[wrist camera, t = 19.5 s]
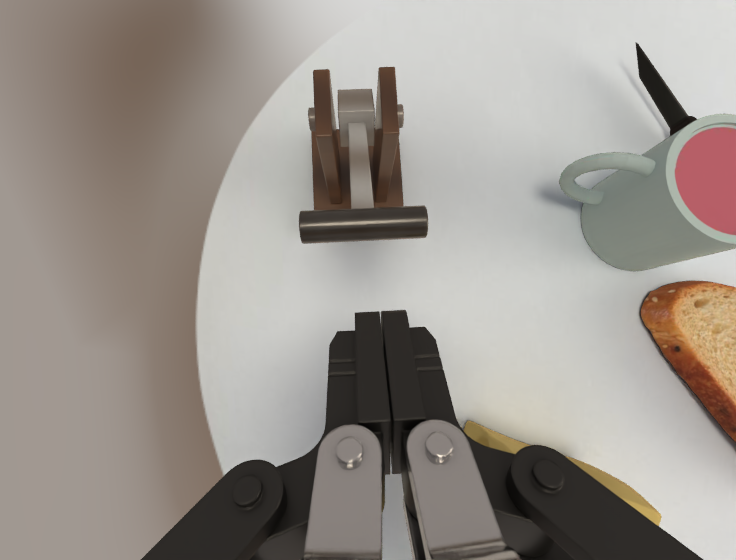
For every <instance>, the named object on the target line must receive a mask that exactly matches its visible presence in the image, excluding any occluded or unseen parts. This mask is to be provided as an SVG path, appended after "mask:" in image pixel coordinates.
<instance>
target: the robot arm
mask: <svg viewBox="0 0 736 560" xmlns="http://www.w3.org/2000/svg"><path fill="white" fill-rule="evenodd" d="M390 453H391V464H392V474H400V473H401V475H402V483H403V492H404V499H403V507H404V513H405V519H406V524H407V530H408V535H409V541H410V546H411V552H412V557H413V560H703V559H702V558H700V557H699V556H698V555H696V554H695V553H694V552H692V551H691V550H690V549H688V548H687V547H686V546H684V545H683V544H682V543H680V542H679V541H678V540H676V539H675V538H674V537H672V536H671V535H670V534H668V533H667V532H666V531H664V530H663V529H662V528H660V527H659V526H657V525H656V524H655V523H653V522H652V521H651V520H649V519H648V518H647V517H645V516H644V515H643V514H641V513H640V512H639V511H637V510H636V509H635V508H633V507H632V506H631V505H629V504H628V503H627V502H625V501H624V500H623V499H621V498H620V497H619V496H617V495H616V494H615V493H613V492H612V491H611V490H609V489H608V488H607V487H605V486H604V485H603V484H601V483H600V482H599V481H597V480H596V479H595V478H593V477H592V476H591V475H589V474H588V473H587V472H585V471H584V470H583V469H581V468H580V467H578V466H577V465H576V464H574V463H573V462H572V461H570V460H569V459H568V458H566V457H565V456H564V455H562V454H561V453H559V452H558V451H556V450H554V449H551V448H549V447H546V446H541V445H530V446H526V447H524V448H522V449H520V450H519V451H518V452H517V453H516V454H513V453H509V452H506V451H502V450H498V449H494V448H490V447H487V446H484V445H482V444H480V443H478V442H476V441H474V440H473V439H471V438H470V437H469V436H468V435H467V434H466V433H465V432H464V431H463V430H462V428H461V427H460V426H459V424H458V422H457V419H456V416H455V413H454V409H453V405H452V401H451V397H450V394H449V390H448V386H447V382H446V378H445V374H444V370H443V367H442V363H441V359H440V357H439V351H438V347H437V344H436V340H435V338H434V337H433V336H432V335H431V334H430V332H429V331H428V330H427V329H426V328H425V327H413V328H409V323H408V317H407V312H406V310H397V311H381V323H380V314H379V312H359V313H355V331H337V333H336V335H335V337H334V338H333V340H332V342H331V343H330V347H329V367H328V388H327V408H326V425H325V430H324V434H323V436H322V438H321V440H320V441H319V443H318V444H317V445H316V446H315V447H314V449H312V450H311V451H310V452H309V453H307V454H306V455H304V456H302V457H300V458H298V459H296V460H293V461H291V462H288V463H285V464H283V465H280V466H278V467H275V466H274V465H273V464H271V463H269V462H267V461H264V460H250V461H246V462H243V463H241V464H239V465H237V466H235V467H234V468H232V469H231V470H230V471H229V472H228V473H227V474H226V475H225V476H224V477H223V478H222V479H221V480H220V481H219V482H218V483H217V484H216V485H215V486H214V487H213V488H212V489H211V490H210V491H209V492H208V493H207V494H206V495H205V496H204V497H203V498H202V499H201V500H200V501H199V502H198V503H197V504H196V505H195V506H194V507H193V508H192V509H191V510H190V511H189V512H188V513H187V514H186V515H185V516H184V517H183V518H182V519H181V520H180V521H179V522H178V523H177V524H176V525H175V526H174V527H173V528H172V529H171V530H170V531H169V532H168V533H167V534H166V535H165V536H164V537H163V538H162V539H161V540H160V541H159V542H158V543H157V544H156V545H155V546H154V547H153V548H152V549H151V550H150V551H149V552H148V553H147V554H146V555H145V556H144V557H143V558H142V559H141V560H382V512H383V509H384V504H385V475H386V474H390Z"/></svg>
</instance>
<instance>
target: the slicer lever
mask: <svg viewBox="0 0 736 560" xmlns="http://www.w3.org/2000/svg"><path fill="white" fill-rule="evenodd" d="M338 118H339V132H340V145H341V147H349V162H350V186H351V209H335V210H313V211H300V214H299V230H300V237H301V241H302V243H303V244H307V243H328V242H349V241H370V240H392V239H413V238H425V237H426V236H427V232H428V214H427V209H426V207H425V206H402V207H380V208H374V203H373V193H372V182H371V172H370V162H369V152H368V146H374V129H375V110H374V103H373V95H372V89H352V90H338Z"/></svg>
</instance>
